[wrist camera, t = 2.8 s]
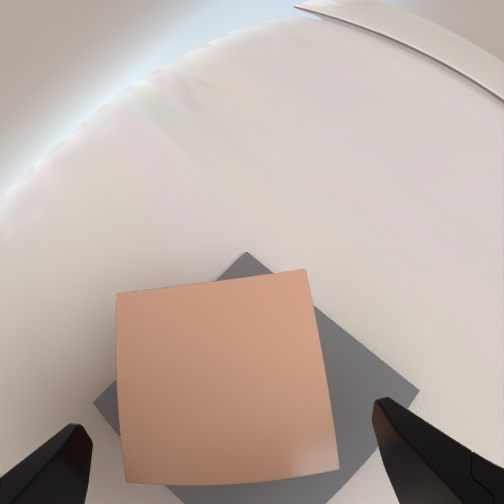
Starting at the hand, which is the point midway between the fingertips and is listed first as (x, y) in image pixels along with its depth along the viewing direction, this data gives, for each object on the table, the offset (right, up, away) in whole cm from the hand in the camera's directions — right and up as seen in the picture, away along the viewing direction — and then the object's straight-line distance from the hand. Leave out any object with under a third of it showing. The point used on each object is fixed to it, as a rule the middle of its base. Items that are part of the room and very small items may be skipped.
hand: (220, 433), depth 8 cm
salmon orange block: (0, -3, +9) cm, 9 cm away
